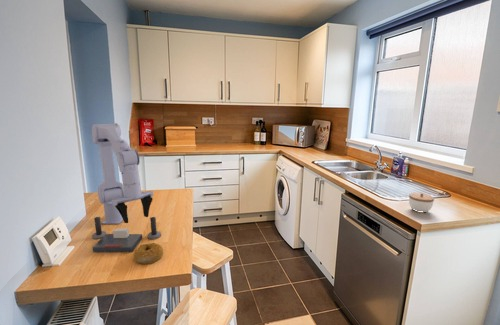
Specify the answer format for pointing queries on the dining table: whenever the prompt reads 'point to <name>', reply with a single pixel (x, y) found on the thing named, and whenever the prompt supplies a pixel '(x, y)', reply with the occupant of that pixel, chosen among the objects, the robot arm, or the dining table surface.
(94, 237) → the cable post
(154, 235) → the cable post
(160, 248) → the bagel
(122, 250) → the breaker block
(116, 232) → the breaker paddle
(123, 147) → the robot arm
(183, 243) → the dining table surface
